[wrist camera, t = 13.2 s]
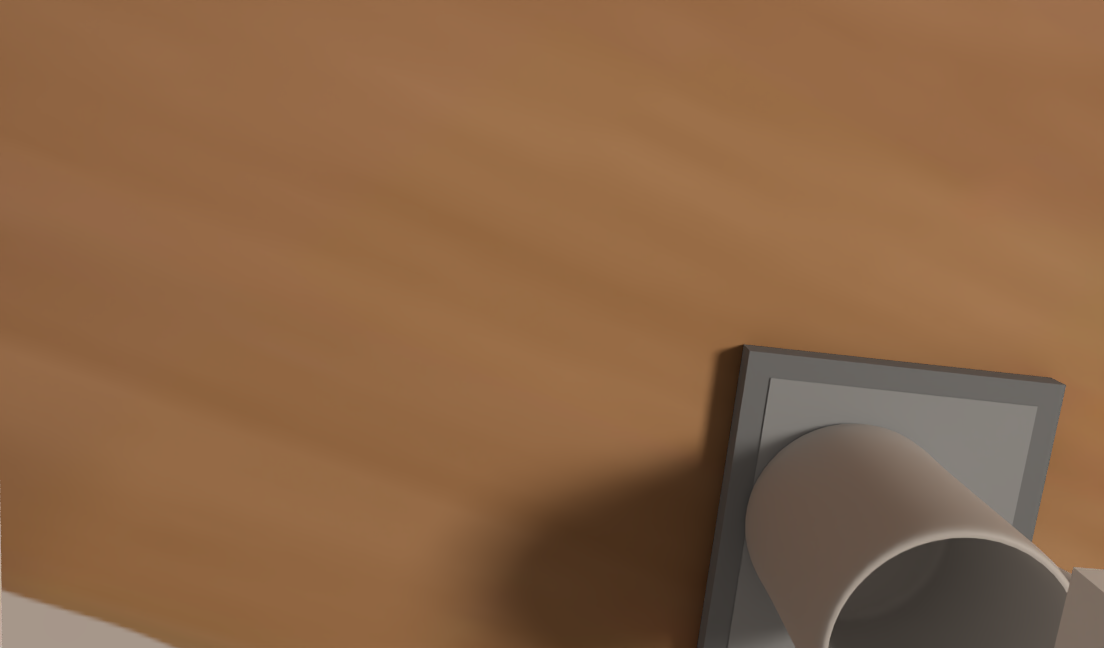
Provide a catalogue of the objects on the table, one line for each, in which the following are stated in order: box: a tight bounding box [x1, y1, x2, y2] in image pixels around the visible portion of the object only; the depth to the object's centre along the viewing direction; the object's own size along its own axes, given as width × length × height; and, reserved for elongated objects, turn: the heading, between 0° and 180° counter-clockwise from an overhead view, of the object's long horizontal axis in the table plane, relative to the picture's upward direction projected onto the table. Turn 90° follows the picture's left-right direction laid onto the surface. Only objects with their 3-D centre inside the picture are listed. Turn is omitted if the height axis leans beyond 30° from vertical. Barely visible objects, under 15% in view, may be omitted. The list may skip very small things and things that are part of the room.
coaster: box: [697, 345, 1066, 648], centre depth 42 cm, size 13×14×1 cm
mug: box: [745, 423, 1072, 648], centre depth 36 cm, size 12×8×11 cm
